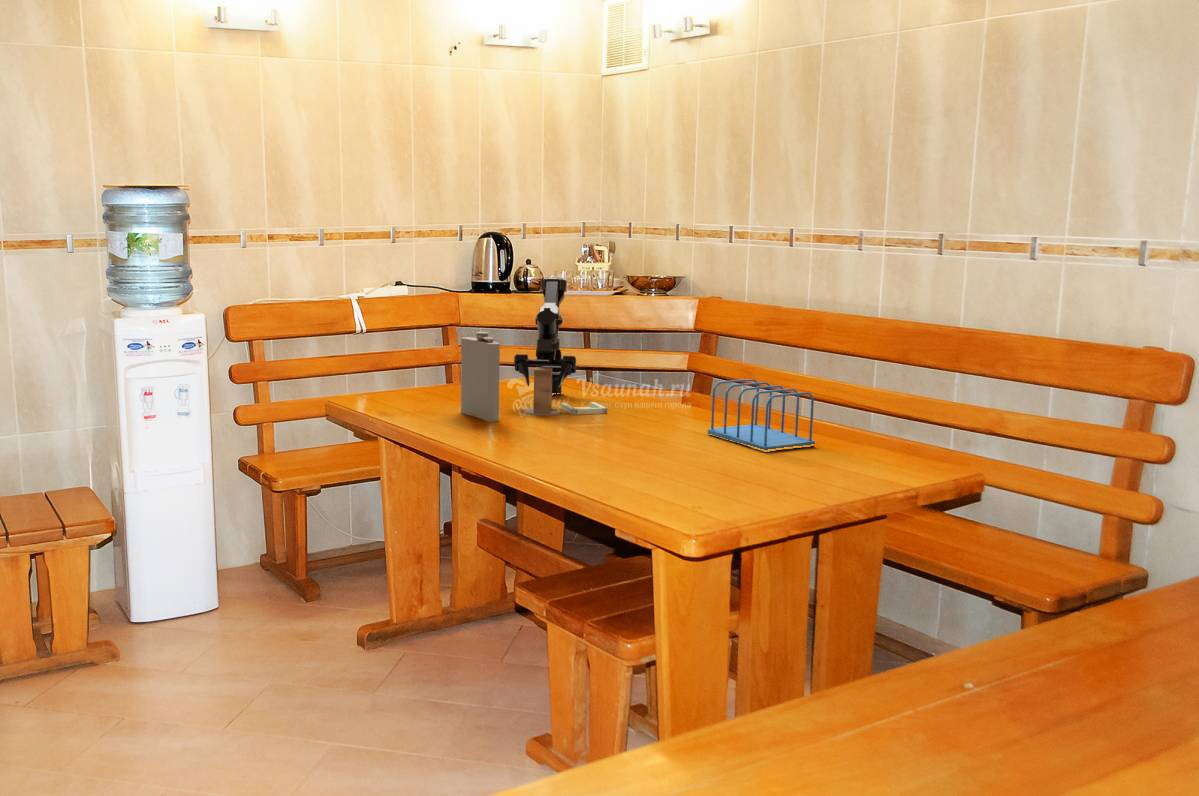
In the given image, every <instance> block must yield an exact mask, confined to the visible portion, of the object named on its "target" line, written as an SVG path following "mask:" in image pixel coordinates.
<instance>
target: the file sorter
mask: <svg viewBox="0 0 1199 796" xmlns="http://www.w3.org/2000/svg"><path fill="white" fill-rule="evenodd" d="M743 382H744V383H743ZM745 382H746V383H745ZM747 382H749V383H747ZM730 383H735V384H732V385H729V386H728V388H727V389H726V390H725V398H724V417H723V418H724V419H723V427H714V425H715V423H714V422H715V401H716V400H715V399H716V389H717V387H718V386H720V385H721V384H730ZM760 385H762V386H760ZM744 386H746V387H745V388H743V389H742V390H741V391H740V393H739V394H738V400H737V402H738V403H737V404H738V405H737V420H736V421H737V422H736V425H734V426H727V423H728V422H727V420H728V419H727V417H728V401H729V400H728V397H729V392H730V390H731V389H732V388H734V387H744ZM747 386H753V387H747ZM774 388H775V389H774ZM776 388H779V389H776ZM762 389H763V390H762ZM764 389H769V390H764ZM750 390H756V393H755V394H754V395H753V397H752V401H751V418H750V419H751V420H750V424H744V425H740V422H741V403H742V401H741V400H742V395H743V394H744V393H745V392H746V391H750ZM779 392H780V394H773V393H779ZM781 392H782V393H781ZM786 392H791V393H786ZM760 394H769V398H768V399H767V401H766V405H765V417H764V418H765V421H764V425H761V424H758V414H759V401H760V400H759V399H760V397H759V396H760ZM800 395H807V396H809V398H810V418H809V419H810V420H809V421H810V422H809V432H808V433H809V437H808V438H806V437H802V436H799V435H798V430H799V429H798V428H799V427H798V426H799V409H800V408H799V407H800ZM789 396H796V409H795V431H794V433H795V434H792V433H788V432H785V431H784V425H785V412H786V409H785V408H786V397H789ZM780 397H782V408H781V425H780V427H781V428H780V429H781V430H778V429H775V428H771V417H772V403H773V401H772V399H774V398H780ZM711 399H712V400H711V401H712V402H711V422H710V423H711V424H710V428H708V429H707V435H708V434H712V435H715V436H718V437H722V438H725V439H728V440H732V441H735V442H739V443H743V444H746V445H750V446H753V447H757V448H760V449H764V450H768V449H776V448H784V447H793V446H803V445H811V444H815V445H816V441H815V440H813V438H812V437H813V423H814V422H813V421H814V395H812V393H811V392H809V391H803V392H799V391H798V390H797V389H795V388H784V387H783V386H782V385H777V384H776V385H771V384H770V383H768V382H766V381H762V382H758V381H757V380H756V379H753V378H746V379H733V380H724V381H721V380H720V381H718V382H717V383H716V384H715V385H714V387H713V390H712V397H711Z"/></svg>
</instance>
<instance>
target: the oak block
mask: <svg viewBox="0 0 1199 796" xmlns="http://www.w3.org/2000/svg"><path fill="white" fill-rule="evenodd" d="M552 373H553V372H552V368H543V367H538V366H535V368H534V369H533V408H532V409H533V413H550V412H551V409H552V405H553V404H552V402H553V400H552V397H553V396H552Z"/></svg>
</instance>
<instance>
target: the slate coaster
mask: <svg viewBox="0 0 1199 796" xmlns="http://www.w3.org/2000/svg"><path fill="white" fill-rule="evenodd" d="M523 412H524V413H525V414H527V415H531V416H532V415H533V416H555V415H559V414H561V413H562V412H561V410H558V409H555V408H551V412H550V413H533V408H529V409H528V408H527V409H524V411H523Z"/></svg>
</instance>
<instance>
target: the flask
mask: <svg viewBox="0 0 1199 796" xmlns="http://www.w3.org/2000/svg"><path fill="white" fill-rule="evenodd" d="M489 334H490V332H488V331H477V332H475V337H473V336H472V337H470V336H467V337H461V344H460V345H461V349H460V350H461V353H460V356H461V357H460V362H461V363H460V365H461V366H460V413H461V414H462V415H468V416H472V417H475V418H478V419H480V420H482V421H485V422H490V423H492V422H493V423H495V422H498V421H499V420H500V367H501V365H500V364H501V363H500V359H501V358H500V356H501V355H500V354H501V351H500V350H501V349H500V347H501V345H500V344H501V343H500V342H496V341H495V338H494V337H492V336H489Z"/></svg>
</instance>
